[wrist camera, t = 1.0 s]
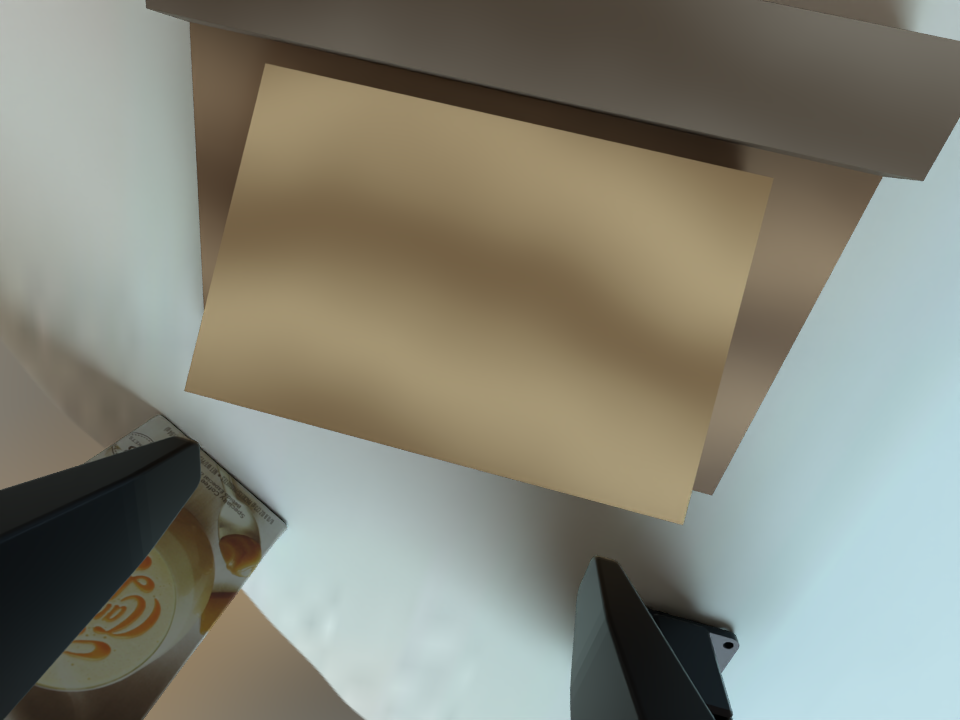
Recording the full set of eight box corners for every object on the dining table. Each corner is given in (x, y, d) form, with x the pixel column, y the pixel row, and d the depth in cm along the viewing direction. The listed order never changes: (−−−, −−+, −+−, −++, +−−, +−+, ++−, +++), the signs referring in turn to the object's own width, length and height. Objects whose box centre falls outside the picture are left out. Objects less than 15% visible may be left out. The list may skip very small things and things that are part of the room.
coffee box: (295, 524, 26) (-31, 987, 12) (233, 571, 29) (-98, 1003, 14) (158, 407, 25) (-422, 790, 10) (104, 469, 27) (-424, 847, 13)
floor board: (702, 472, 21) (725, 526, 18) (228, 348, 22) (176, 380, 19) (910, 65, 14) (1000, 46, 11) (216, -80, 16) (134, -131, 13)
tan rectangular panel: (665, 508, 15) (683, 525, 14) (214, 388, 16) (184, 390, 14) (747, 196, 15) (773, 178, 14) (288, 91, 16) (265, 63, 14)
